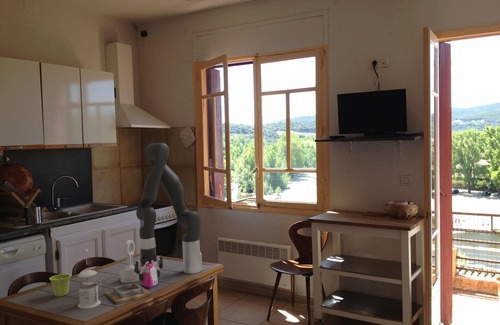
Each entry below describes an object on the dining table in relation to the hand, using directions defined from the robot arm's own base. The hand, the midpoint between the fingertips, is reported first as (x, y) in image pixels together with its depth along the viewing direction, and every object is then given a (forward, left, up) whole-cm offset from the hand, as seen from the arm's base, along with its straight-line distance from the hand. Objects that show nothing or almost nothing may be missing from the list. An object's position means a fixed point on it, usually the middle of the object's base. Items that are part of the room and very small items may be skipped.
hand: (149, 279), depth 212 cm
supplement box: (0, 0, -4) cm, 4 cm away
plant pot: (+38, -17, -4) cm, 42 cm away
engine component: (+4, -17, -4) cm, 18 cm away
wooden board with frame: (+13, +6, -3) cm, 15 cm away
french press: (+30, +6, -4) cm, 31 cm away
